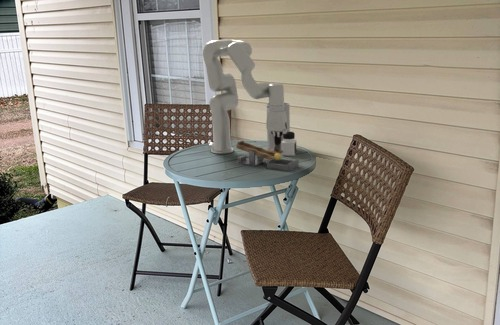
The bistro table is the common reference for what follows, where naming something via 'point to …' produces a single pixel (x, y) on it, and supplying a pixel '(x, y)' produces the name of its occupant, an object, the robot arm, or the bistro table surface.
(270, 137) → the cylinder vase
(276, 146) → the lever
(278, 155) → the ball
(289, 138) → the medicine bottle
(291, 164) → the tray
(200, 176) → the bistro table surface
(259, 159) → the stand
